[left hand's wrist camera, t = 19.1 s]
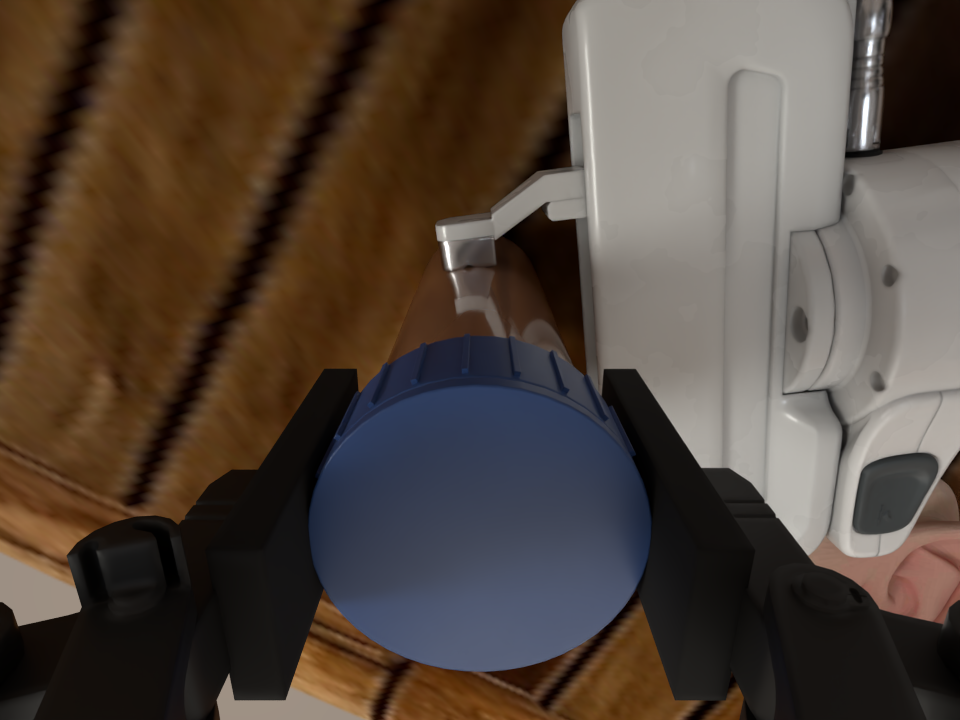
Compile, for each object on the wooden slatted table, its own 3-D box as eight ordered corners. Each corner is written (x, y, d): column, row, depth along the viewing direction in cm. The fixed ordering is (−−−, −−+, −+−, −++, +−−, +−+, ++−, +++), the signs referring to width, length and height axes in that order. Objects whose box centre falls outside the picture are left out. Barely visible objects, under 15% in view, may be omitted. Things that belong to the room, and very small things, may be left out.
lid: (681, 413, 12) (728, 480, 10) (532, 620, 14) (542, 716, 12) (414, 276, 11) (396, 313, 9) (292, 518, 13) (251, 601, 11)
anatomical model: (706, 710, 30) (748, 516, 26) (681, 646, 34) (714, 468, 29) (971, 715, 30) (1054, 522, 26) (916, 650, 34) (981, 473, 30)
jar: (400, 310, 27) (291, 552, 11) (458, 209, 25) (424, 328, 10) (498, 365, 28) (523, 659, 12) (560, 271, 26) (678, 469, 11)
